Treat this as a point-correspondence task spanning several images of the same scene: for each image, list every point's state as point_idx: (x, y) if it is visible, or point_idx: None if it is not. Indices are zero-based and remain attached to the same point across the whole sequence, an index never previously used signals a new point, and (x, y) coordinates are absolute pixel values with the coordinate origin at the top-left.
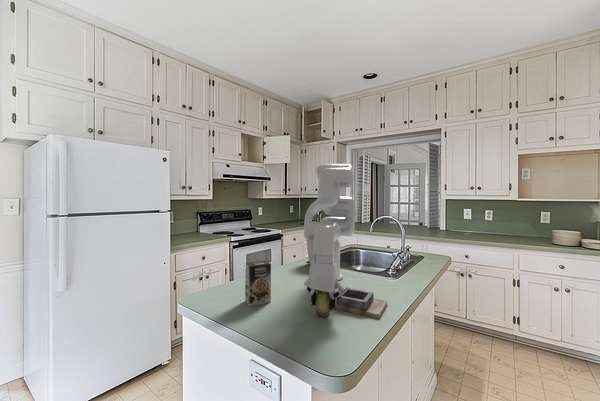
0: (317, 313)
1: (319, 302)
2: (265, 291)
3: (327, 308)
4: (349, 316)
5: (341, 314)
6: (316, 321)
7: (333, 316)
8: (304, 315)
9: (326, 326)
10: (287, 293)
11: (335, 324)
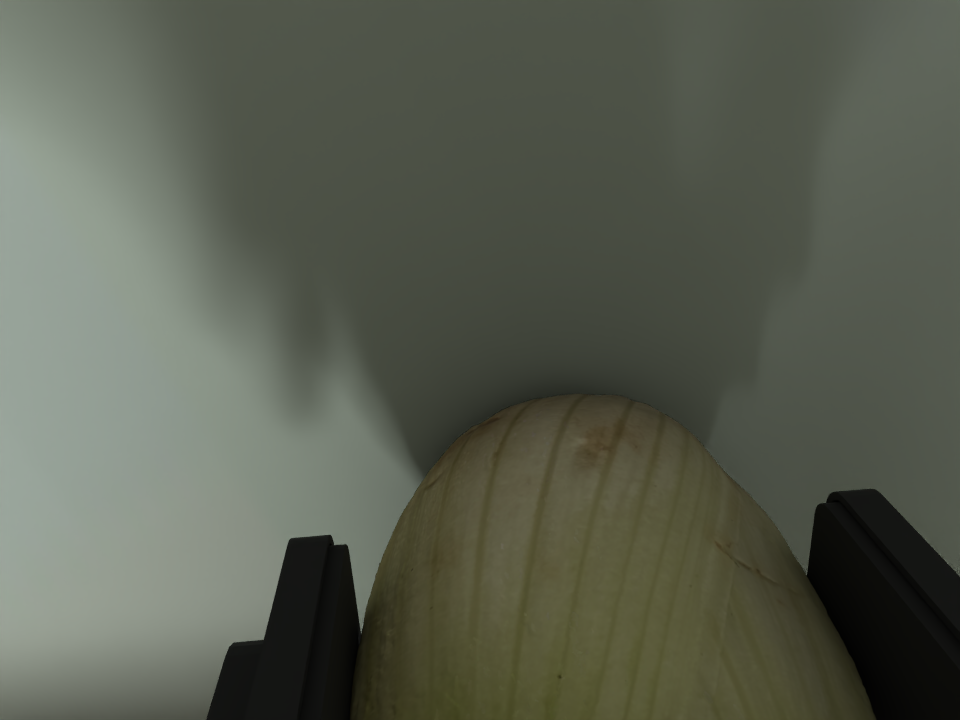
0: (646, 406)
1: (691, 612)
2: None
3: (415, 557)
4: (79, 688)
5: None
6: (538, 143)
7: (334, 538)
8: (905, 253)
9: (209, 44)
10: None
11: (98, 254)
